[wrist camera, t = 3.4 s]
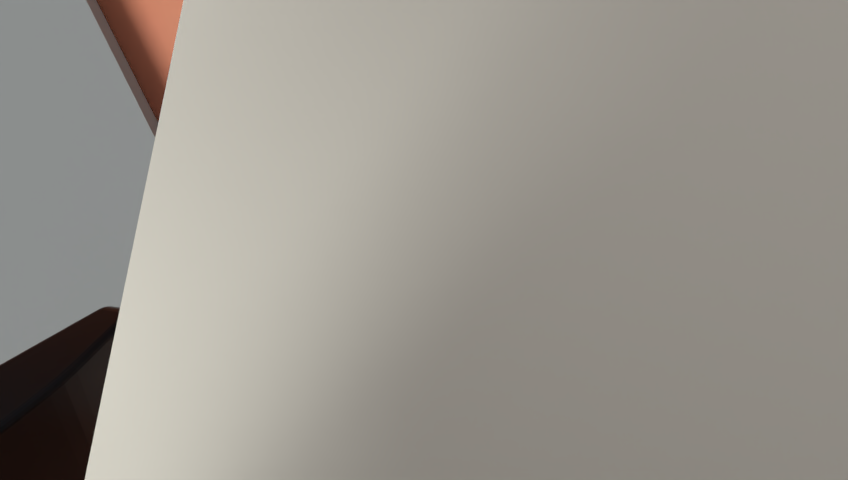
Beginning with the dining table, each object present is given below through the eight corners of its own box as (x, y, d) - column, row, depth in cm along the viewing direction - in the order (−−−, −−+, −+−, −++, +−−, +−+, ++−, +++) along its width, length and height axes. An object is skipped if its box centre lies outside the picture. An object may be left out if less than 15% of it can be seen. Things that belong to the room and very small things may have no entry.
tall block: (598, 458, 17) (855, 800, 4) (399, 424, 17) (54, 619, 4) (622, 258, 17) (914, -22, 4) (429, 232, 18) (199, -77, 5)
